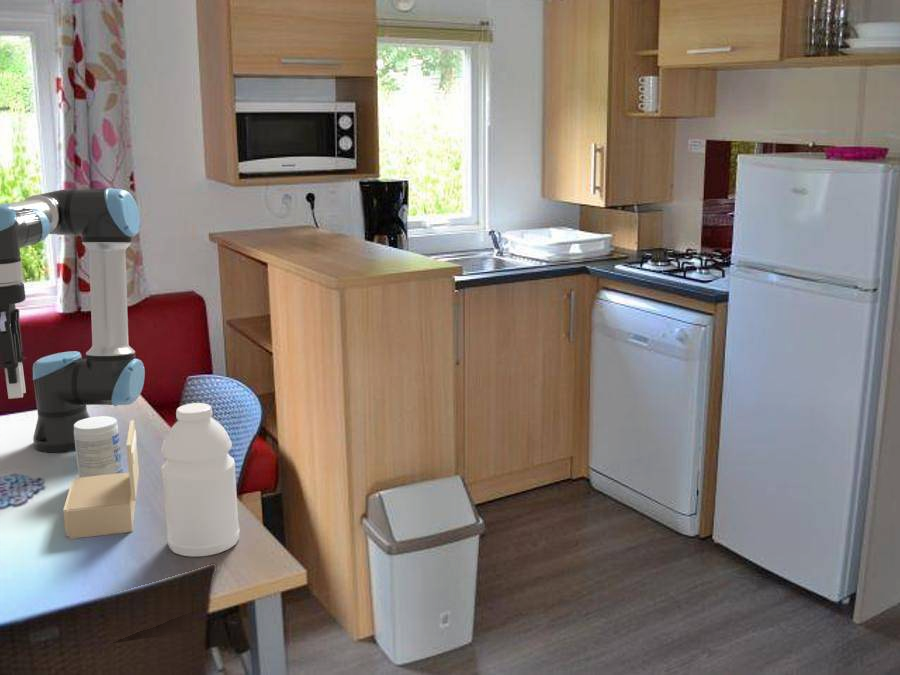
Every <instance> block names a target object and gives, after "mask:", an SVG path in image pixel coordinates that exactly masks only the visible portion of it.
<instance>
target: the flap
mask: <svg viewBox="0 0 900 675" xmlns="http://www.w3.org/2000/svg"><path fill="white" fill-rule="evenodd" d="M128 427H129V428H128V432H127V438H126V439H127V440H126V446H125V447H126V456H127V457H126V458H127V466H128V467H127V468H128V472H129V478H130V488H131V499H132V501H136V502H137V494H138V484H139V477H140V471H139V470H140V468H139V457H138V456H139V455H138V447H137V440H138V439H137V430H136V426H135V420H134V419H131V420H129V426H128Z"/></svg>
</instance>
